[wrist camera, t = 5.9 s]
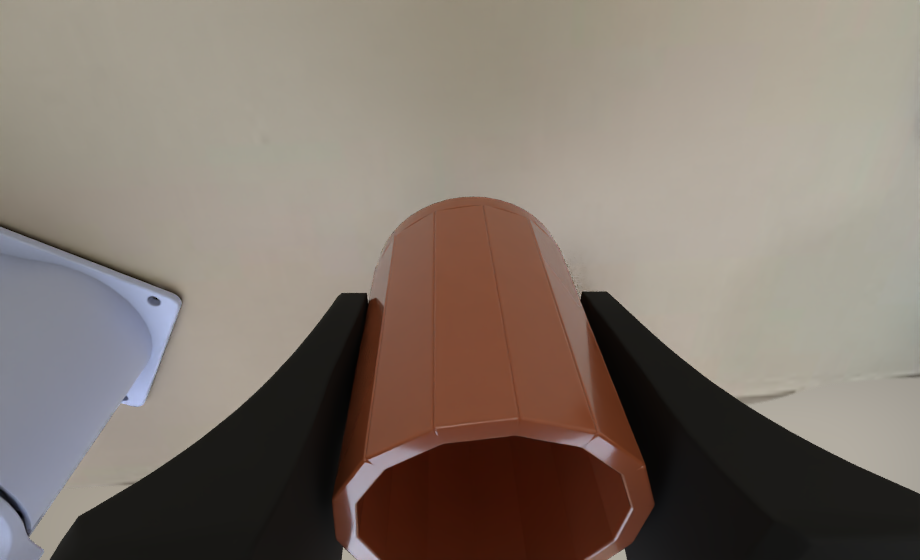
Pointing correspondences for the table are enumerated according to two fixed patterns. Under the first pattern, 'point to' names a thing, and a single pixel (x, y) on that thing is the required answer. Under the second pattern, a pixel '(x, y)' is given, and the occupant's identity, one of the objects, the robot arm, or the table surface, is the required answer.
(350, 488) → the cup
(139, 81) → the table surface
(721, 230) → the table surface
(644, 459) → the robot arm
